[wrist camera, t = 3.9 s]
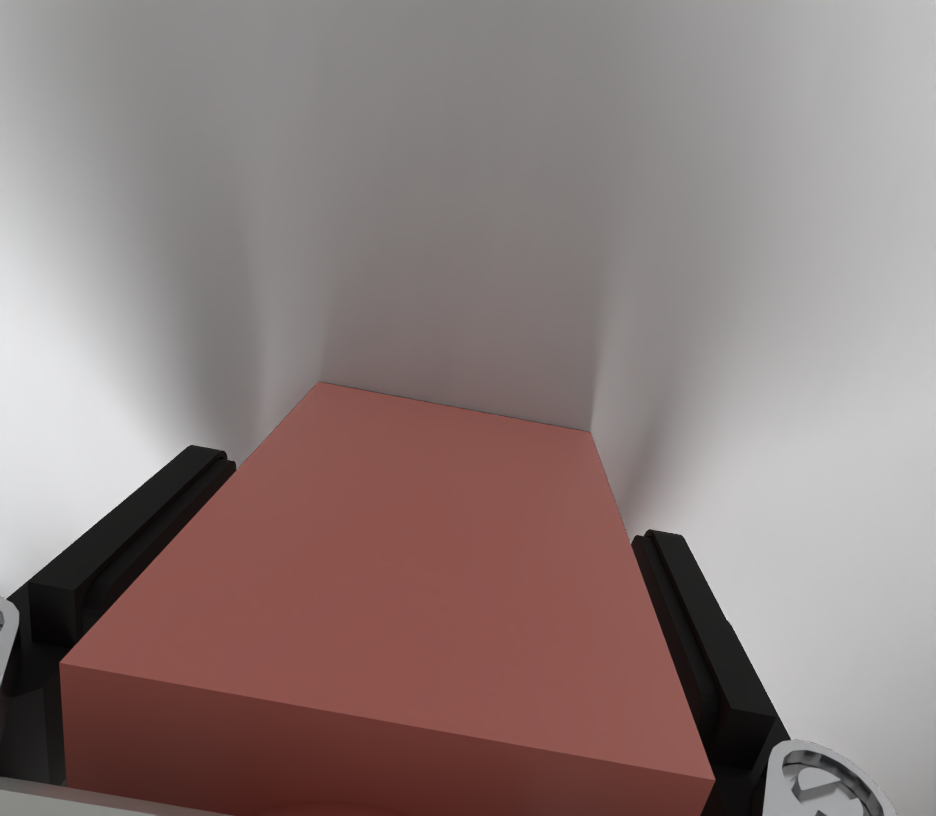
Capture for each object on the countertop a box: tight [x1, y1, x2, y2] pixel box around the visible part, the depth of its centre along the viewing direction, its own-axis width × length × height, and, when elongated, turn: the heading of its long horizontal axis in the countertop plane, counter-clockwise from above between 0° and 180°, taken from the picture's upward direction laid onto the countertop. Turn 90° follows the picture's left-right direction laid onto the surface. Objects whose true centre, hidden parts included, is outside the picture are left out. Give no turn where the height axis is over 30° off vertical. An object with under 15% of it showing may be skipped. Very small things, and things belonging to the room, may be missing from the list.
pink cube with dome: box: [59, 382, 715, 816], centre depth 8 cm, size 5×5×8 cm
